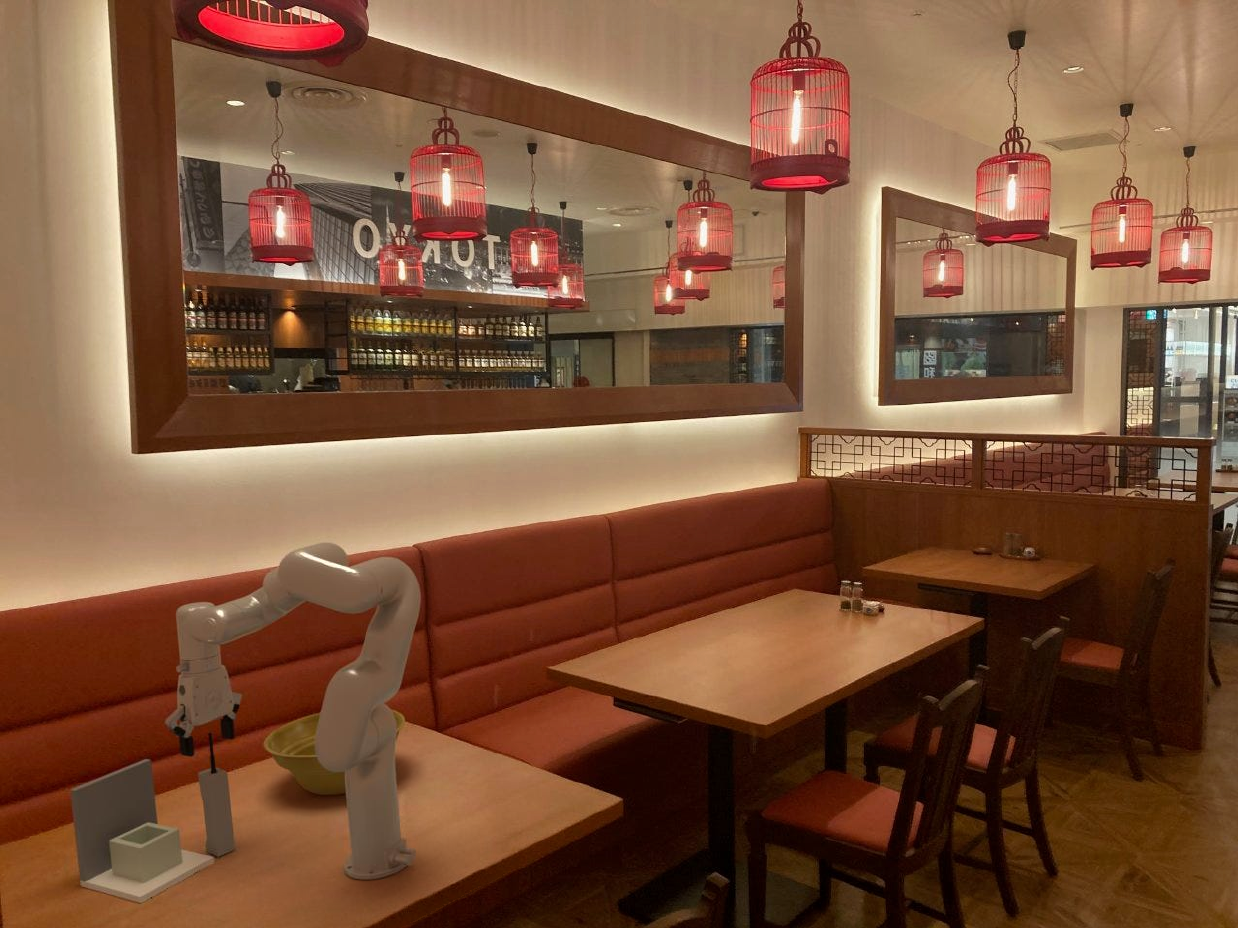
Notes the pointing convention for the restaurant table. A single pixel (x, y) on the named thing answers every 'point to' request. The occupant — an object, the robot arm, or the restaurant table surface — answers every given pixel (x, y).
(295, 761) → the planter bowl
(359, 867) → the robot arm
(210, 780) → the vintage mobile phone
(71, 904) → the restaurant table surface
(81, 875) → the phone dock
